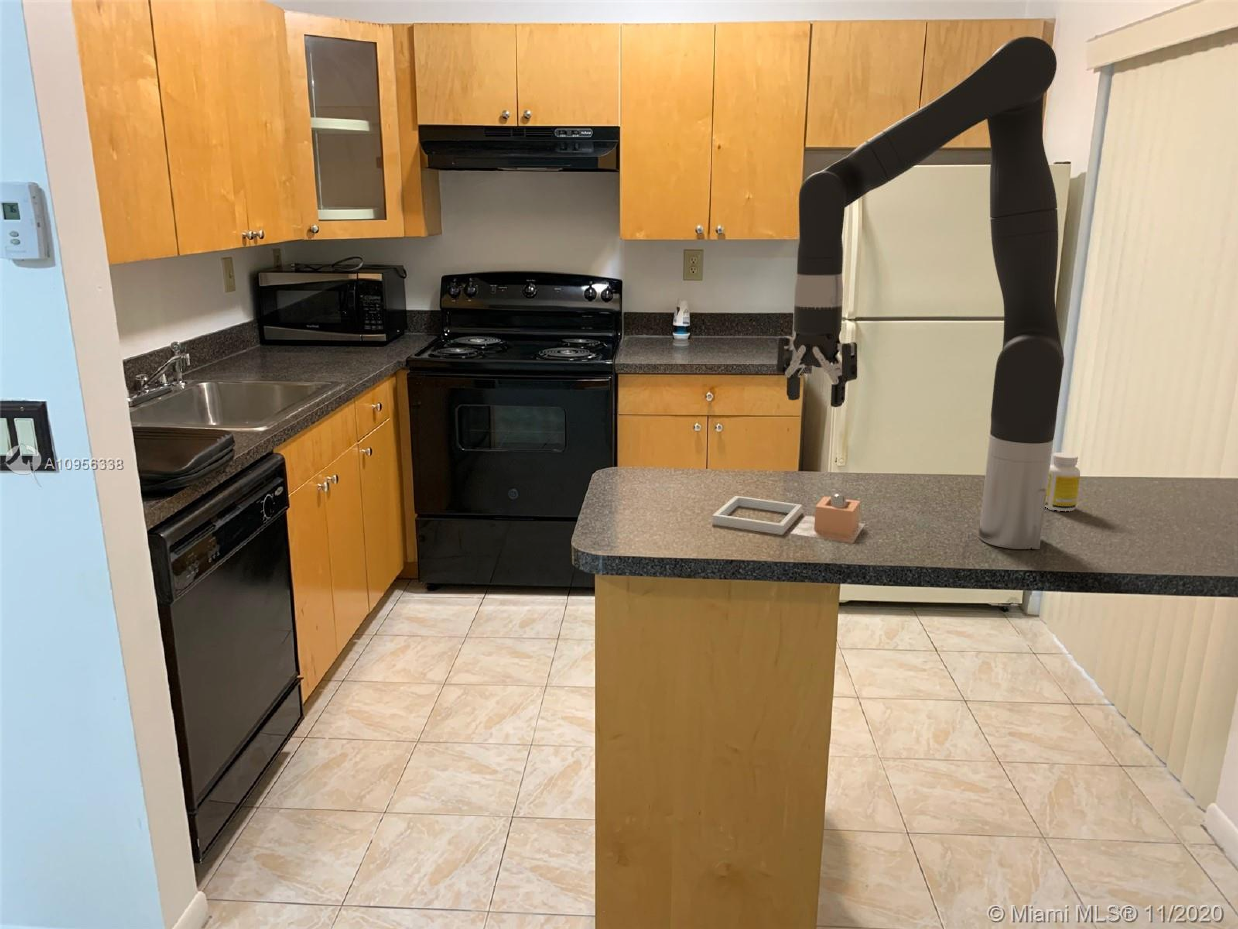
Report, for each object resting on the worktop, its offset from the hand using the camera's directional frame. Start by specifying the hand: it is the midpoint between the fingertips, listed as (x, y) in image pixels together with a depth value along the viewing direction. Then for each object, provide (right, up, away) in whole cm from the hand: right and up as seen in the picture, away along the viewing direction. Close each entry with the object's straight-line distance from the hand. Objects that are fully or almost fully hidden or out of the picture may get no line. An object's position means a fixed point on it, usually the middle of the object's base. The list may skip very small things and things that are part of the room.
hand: (814, 402), depth 151 cm
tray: (-9, -20, +5) cm, 23 cm away
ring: (+4, -20, +1) cm, 21 cm away
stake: (+2, -22, 0) cm, 22 cm away
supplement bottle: (+47, -18, +14) cm, 52 cm away
